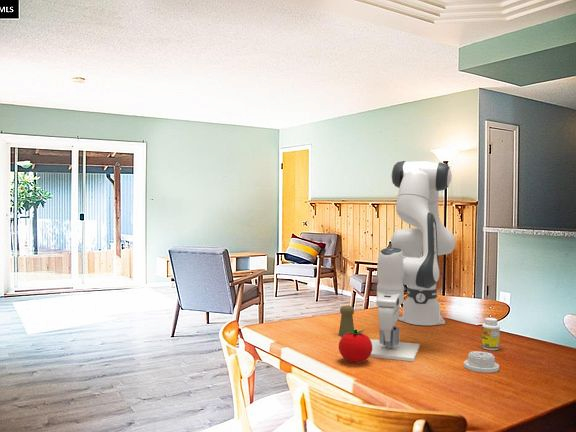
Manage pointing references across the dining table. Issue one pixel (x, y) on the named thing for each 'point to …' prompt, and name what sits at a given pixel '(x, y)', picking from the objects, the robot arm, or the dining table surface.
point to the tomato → (355, 346)
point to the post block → (394, 350)
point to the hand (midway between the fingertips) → (389, 338)
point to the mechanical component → (481, 362)
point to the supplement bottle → (490, 334)
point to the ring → (394, 337)
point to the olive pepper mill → (346, 320)
